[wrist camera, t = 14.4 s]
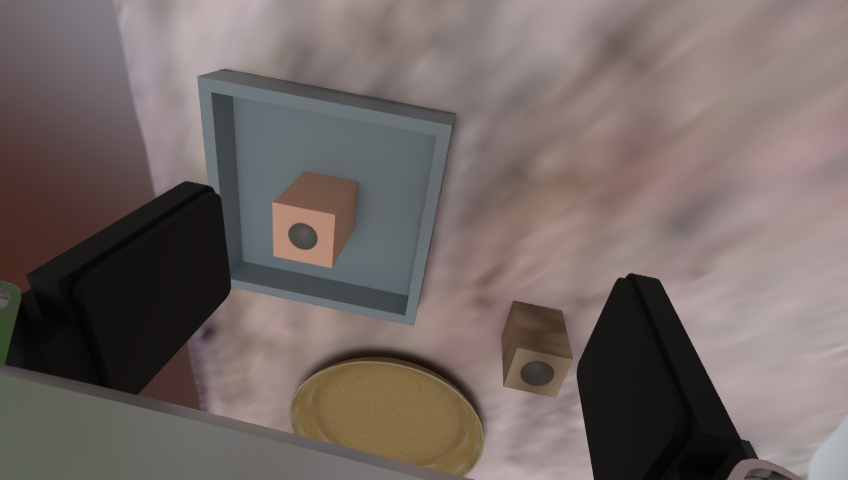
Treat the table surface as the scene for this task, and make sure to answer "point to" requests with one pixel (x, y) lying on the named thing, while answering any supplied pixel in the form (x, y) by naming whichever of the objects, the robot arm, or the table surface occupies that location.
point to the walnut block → (535, 349)
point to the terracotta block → (314, 218)
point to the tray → (334, 156)
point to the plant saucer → (390, 413)
